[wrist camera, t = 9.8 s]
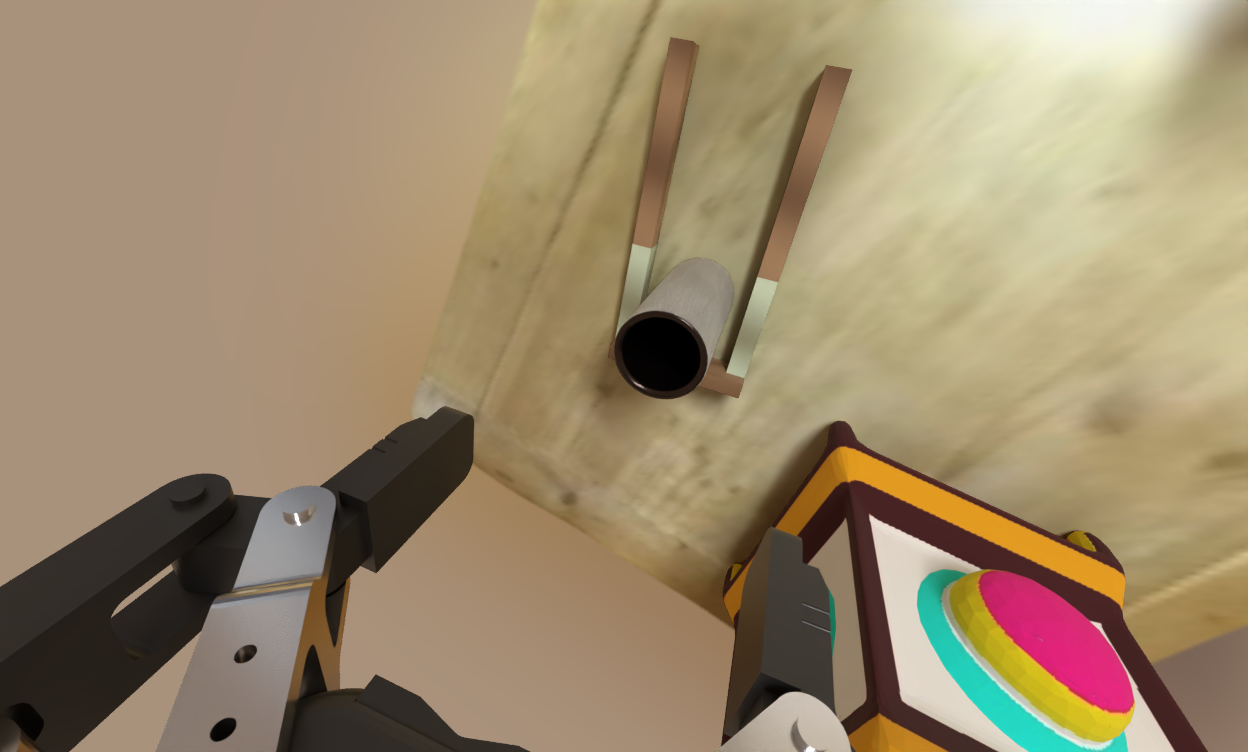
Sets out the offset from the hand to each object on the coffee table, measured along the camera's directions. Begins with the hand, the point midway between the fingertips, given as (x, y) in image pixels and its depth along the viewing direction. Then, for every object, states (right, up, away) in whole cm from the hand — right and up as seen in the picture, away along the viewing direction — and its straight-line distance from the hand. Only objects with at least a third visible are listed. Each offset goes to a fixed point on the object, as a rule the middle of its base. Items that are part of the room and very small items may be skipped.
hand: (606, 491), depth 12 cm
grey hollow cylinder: (+5, +8, +19) cm, 21 cm away
